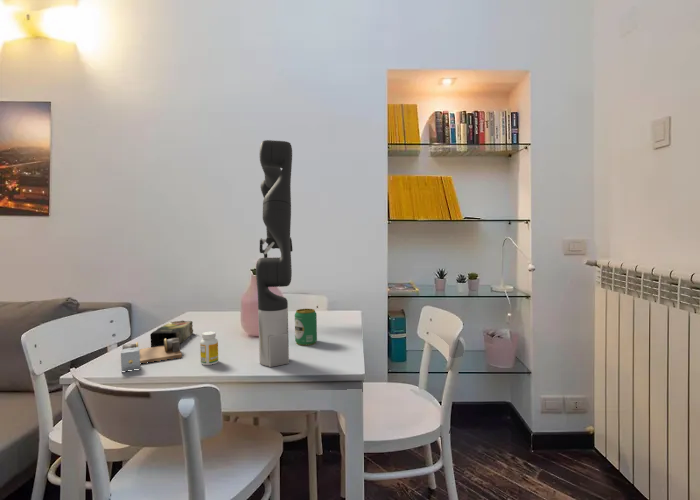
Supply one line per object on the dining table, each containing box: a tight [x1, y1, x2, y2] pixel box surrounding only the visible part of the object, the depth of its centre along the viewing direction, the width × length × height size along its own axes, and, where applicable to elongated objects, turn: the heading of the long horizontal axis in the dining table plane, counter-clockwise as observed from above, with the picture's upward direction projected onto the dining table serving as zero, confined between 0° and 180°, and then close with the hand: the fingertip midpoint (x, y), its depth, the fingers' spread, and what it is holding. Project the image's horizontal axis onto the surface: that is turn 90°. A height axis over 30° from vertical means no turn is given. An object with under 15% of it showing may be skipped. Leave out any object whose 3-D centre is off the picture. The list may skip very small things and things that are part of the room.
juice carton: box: [149, 320, 194, 347], centre depth 157 cm, size 20×10×6 cm, turn 4°
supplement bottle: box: [199, 331, 219, 366], centre depth 130 cm, size 5×5×10 cm
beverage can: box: [294, 308, 318, 346], centre depth 150 cm, size 8×8×12 cm
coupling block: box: [120, 346, 141, 372], centre depth 125 cm, size 5×5×6 cm
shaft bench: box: [122, 337, 183, 364], centre depth 137 cm, size 17×14×5 cm
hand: (276, 260), depth 182 cm, fingers open, 8 cm apart
